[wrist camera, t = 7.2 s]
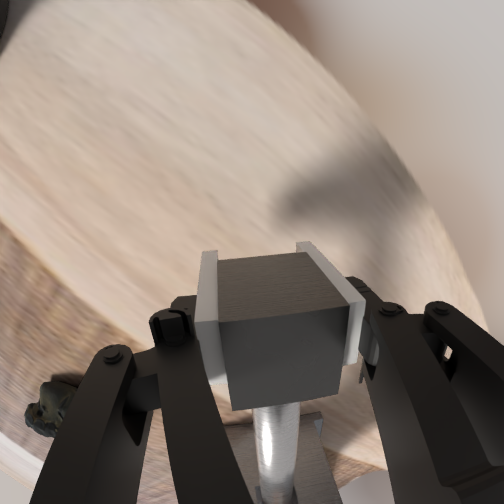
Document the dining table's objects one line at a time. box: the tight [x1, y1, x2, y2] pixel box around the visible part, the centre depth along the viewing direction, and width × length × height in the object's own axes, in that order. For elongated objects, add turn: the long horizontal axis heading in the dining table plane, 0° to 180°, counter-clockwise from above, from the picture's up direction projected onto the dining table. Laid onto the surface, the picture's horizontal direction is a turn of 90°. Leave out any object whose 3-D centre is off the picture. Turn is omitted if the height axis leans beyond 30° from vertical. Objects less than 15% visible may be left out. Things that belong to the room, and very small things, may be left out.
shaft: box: [217, 252, 350, 504], centre depth 16 cm, size 27×4×5 cm, turn 4°
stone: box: [24, 381, 77, 438], centre depth 21 cm, size 7×13×5 cm, turn 97°
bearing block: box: [224, 412, 343, 504], centre depth 21 cm, size 8×12×14 cm, turn 94°
